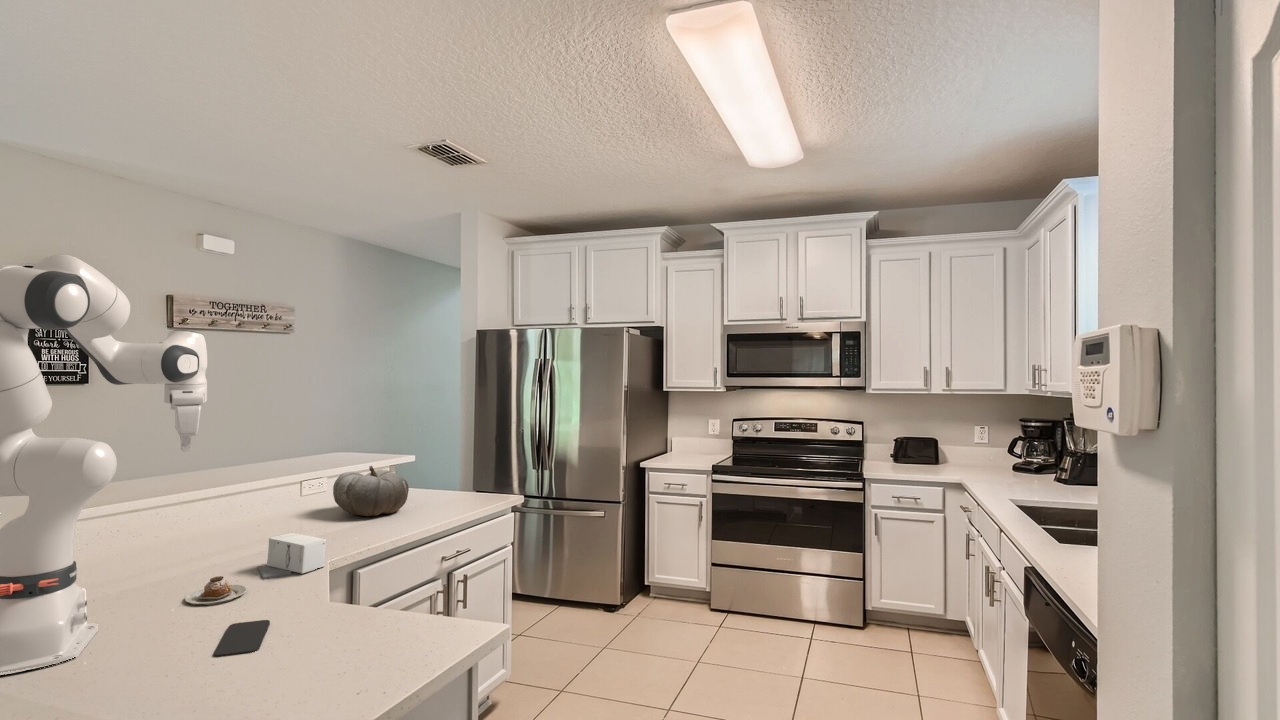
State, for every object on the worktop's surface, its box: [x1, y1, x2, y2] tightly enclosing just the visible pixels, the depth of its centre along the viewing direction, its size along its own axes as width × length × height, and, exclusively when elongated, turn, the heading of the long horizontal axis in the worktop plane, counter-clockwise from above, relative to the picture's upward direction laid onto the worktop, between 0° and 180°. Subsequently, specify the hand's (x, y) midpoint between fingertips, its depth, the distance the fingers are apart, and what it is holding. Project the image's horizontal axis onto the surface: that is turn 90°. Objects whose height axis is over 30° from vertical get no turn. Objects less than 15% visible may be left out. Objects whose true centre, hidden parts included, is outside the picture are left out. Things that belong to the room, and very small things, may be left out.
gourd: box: [332, 465, 409, 517], centre depth 233 cm, size 25×25×17 cm
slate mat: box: [257, 564, 292, 580], centre depth 169 cm, size 10×6×1 cm, turn 38°
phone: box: [213, 619, 271, 658], centre depth 129 cm, size 7×1×15 cm
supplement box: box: [266, 532, 327, 574], centre depth 172 cm, size 7×7×13 cm
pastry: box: [184, 576, 248, 606], centre depth 151 cm, size 12×12×5 cm
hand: (185, 450), depth 165 cm, fingers closed
